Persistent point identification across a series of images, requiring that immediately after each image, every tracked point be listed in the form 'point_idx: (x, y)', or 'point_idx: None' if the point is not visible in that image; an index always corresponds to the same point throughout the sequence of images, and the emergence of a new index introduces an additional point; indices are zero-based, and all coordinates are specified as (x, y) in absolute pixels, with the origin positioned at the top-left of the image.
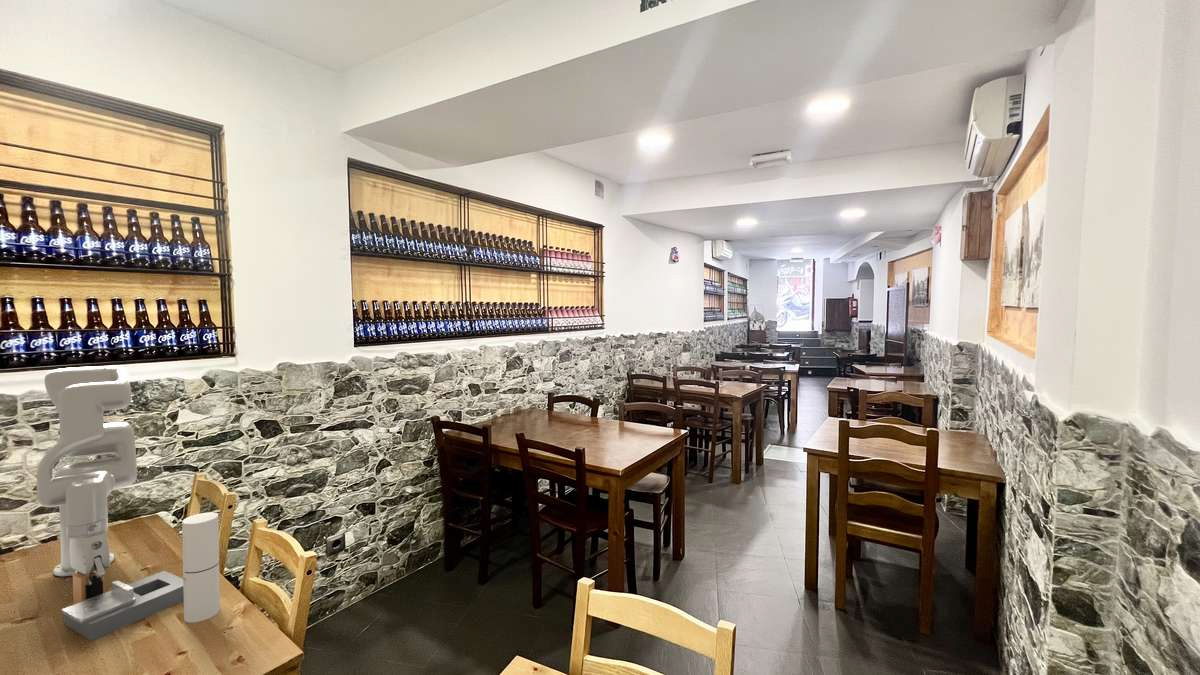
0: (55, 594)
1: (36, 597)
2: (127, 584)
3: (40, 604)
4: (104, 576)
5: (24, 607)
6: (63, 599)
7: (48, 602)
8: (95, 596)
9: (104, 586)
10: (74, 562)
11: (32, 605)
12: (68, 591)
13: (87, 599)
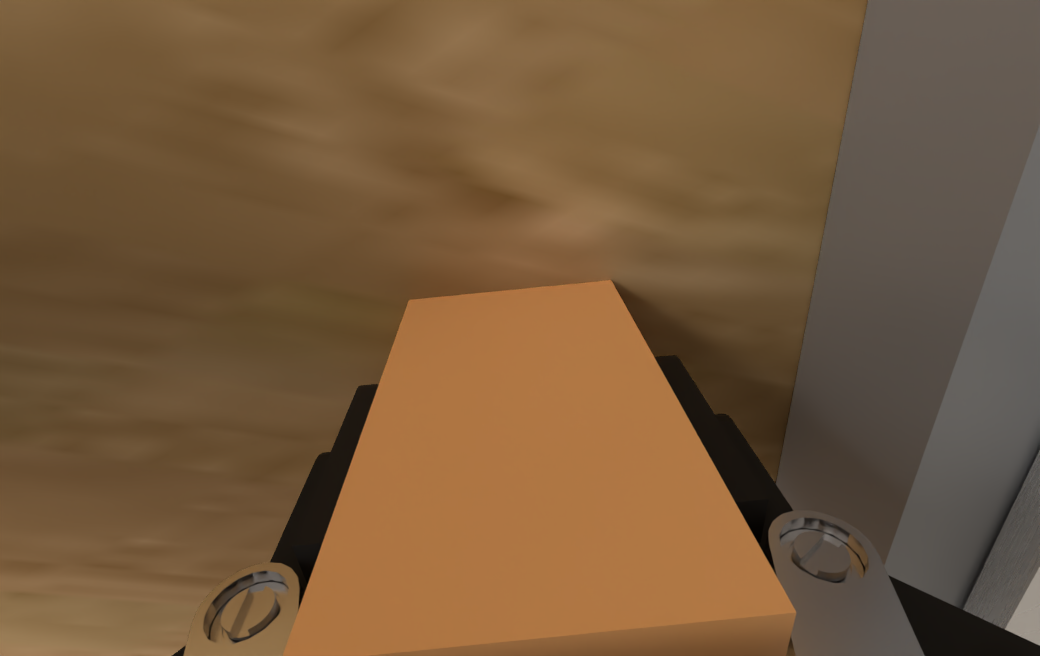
0: (41, 495)
1: (4, 575)
2: (1028, 167)
3: (203, 577)
4: (727, 493)
5: (175, 631)
6: (235, 479)
7: (207, 545)
8: (1038, 565)
9: (656, 372)
10: None
11: (177, 604)
12: (42, 426)
13: (1015, 620)
